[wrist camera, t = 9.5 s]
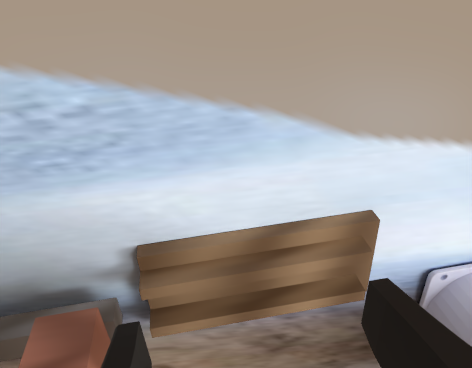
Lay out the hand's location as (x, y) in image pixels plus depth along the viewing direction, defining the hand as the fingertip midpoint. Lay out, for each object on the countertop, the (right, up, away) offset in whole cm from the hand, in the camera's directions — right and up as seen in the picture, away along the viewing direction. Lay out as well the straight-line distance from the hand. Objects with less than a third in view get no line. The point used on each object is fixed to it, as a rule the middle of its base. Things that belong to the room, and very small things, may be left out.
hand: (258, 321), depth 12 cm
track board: (+1, -1, +12) cm, 12 cm away
